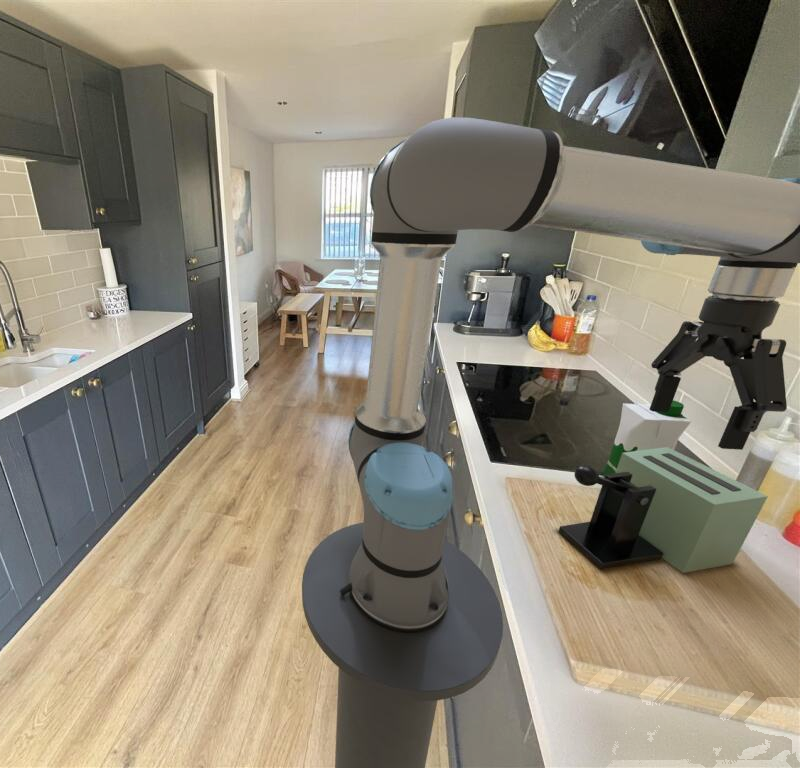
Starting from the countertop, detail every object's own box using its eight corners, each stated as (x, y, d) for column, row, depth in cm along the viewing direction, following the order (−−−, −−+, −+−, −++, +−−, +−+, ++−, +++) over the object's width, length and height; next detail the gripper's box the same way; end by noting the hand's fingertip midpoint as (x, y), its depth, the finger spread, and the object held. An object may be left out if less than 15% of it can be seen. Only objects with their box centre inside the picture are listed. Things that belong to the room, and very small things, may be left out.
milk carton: (666, 499, 82) (701, 413, 75) (617, 495, 84) (647, 410, 76) (639, 474, 90) (668, 394, 83) (594, 471, 92) (619, 392, 84)
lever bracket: (600, 570, 66) (624, 503, 61) (558, 532, 74) (576, 470, 69) (661, 559, 68) (689, 493, 63) (613, 523, 76) (635, 462, 71)
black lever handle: (582, 487, 62) (594, 470, 61) (565, 475, 65) (577, 459, 64) (635, 505, 66) (648, 490, 65) (617, 493, 69) (629, 479, 68)
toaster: (682, 573, 65) (715, 503, 60) (601, 512, 79) (622, 451, 74) (732, 564, 67) (768, 495, 61) (644, 506, 80) (667, 446, 75)
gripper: (883, 312, 46) (800, 470, 53) (696, 287, 69) (656, 399, 76) (811, 311, 47) (739, 467, 54) (650, 287, 70) (615, 398, 77)
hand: (690, 427), depth 65 cm, fingers open, 13 cm apart
